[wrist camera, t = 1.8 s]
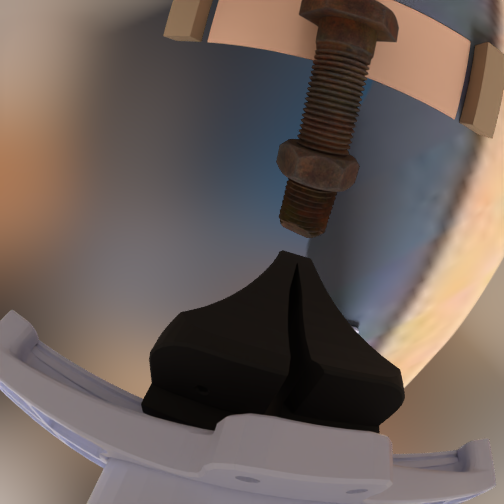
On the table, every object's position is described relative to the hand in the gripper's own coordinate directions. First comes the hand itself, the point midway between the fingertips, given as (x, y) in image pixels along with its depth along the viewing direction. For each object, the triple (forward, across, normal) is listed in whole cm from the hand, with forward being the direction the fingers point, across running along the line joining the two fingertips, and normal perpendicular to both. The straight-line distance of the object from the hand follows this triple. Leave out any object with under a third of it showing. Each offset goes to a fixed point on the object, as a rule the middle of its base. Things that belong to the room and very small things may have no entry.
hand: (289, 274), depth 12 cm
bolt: (+10, 0, -6) cm, 12 cm away
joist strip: (+9, 0, -14) cm, 16 cm away
